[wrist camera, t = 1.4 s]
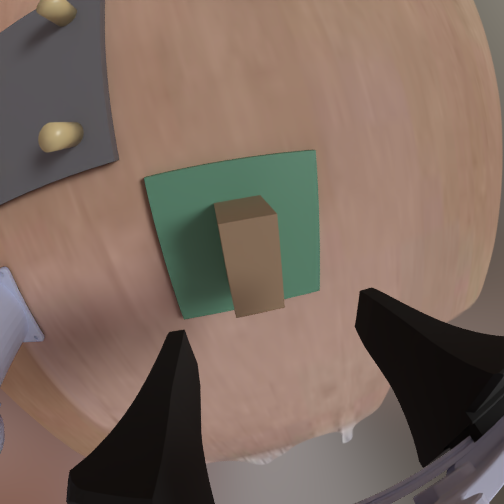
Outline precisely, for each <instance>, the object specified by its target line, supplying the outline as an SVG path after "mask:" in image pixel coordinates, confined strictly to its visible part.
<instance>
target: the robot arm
mask: <svg viewBox="0 0 504 504" xmlns="http://www.w3.org/2000/svg"><path fill="white" fill-rule="evenodd" d="M355 328H356V330H357V333H358V335H359V337H360V339H361V341H362V343H363V345H364V346H365V348H366V349H367V351H368V352H369V354H370V355H371V357H372V358H373V360H374V361H375V363H376V364H377V366H378V367H379V369H380V370H381V372H382V373H383V375H384V376H385V378H386V379H387V381H388V382H389V384H390V385H391V387H392V389H393V391H394V393H395V395H396V397H397V399H398V401H399V403H400V405H401V408H402V410H403V412H404V415H405V417H406V419H407V422H408V425H409V428H410V430H411V433H412V436H413V439H414V443H415V446H416V450H417V454H418V458H419V462H420V463H421V465H422V467H423V468H424V467H425V468H424V469H422V470H420V471H419V472H417V473H415V474H414V475H412V476H410V477H409V478H407V479H405V480H403V481H401V482H399V483H398V484H396V485H394V486H392V487H390V488H388V489H386V490H384V491H382V492H380V493H378V494H375V495H373V496H371V497H369V498H367V499H364V500H362V501H360V502H357V503H355V504H391V503H393V502H395V501H397V500H399V499H401V498H402V497H404V496H406V495H408V494H410V493H411V492H413V491H415V490H416V489H418V488H420V487H421V486H423V485H424V484H426V483H428V482H429V481H431V480H432V479H434V478H435V477H436V476H438V475H440V474H441V473H442V472H444V471H445V470H447V469H448V470H447V474H446V476H445V477H444V478H442V479H441V480H439V481H438V482H436V483H434V484H433V485H431V486H430V487H428V488H427V489H425V490H424V491H422V492H420V493H419V494H417V495H416V496H414V498H413V499H414V502H415V504H489V502H490V501H491V499H492V498H493V497H494V496H495V495H496V493H497V492H498V491H499V490H500V488H501V487H502V486H503V485H504V336H495V335H488V334H483V333H478V332H474V331H470V330H466V329H462V328H459V327H456V326H453V325H450V324H448V323H445V322H442V321H440V320H437V319H435V318H433V317H430V316H428V315H426V314H424V313H422V312H420V311H418V310H416V309H414V308H412V307H410V306H408V305H406V304H404V303H402V302H400V301H398V300H396V299H394V298H392V297H390V296H389V295H387V294H385V293H383V292H381V291H379V290H377V289H374V288H368V289H365V290H361V291H360V294H359V302H358V309H357V316H356V323H355ZM43 340H44V335H43V333H42V331H41V330H40V328H39V326H38V325H37V323H36V321H35V320H34V318H33V316H32V314H31V313H30V311H29V309H28V307H27V305H26V303H25V301H24V299H23V297H22V295H21V294H20V291H19V289H18V287H17V285H16V283H15V281H14V279H13V277H12V274H11V272H10V270H9V269H8V268H7V267H1V268H0V386H1V384H2V382H3V380H4V378H5V375H6V373H7V371H8V369H9V367H10V365H11V363H12V361H13V359H14V357H15V355H16V353H17V351H18V350H19V348H20V346H21V344H22V342H38V341H43ZM0 406H1V403H0ZM3 444H4V424H3V419H2V417H1V415H0V453H1V451H2V448H3ZM449 450H450V451H449ZM448 451H449V452H448ZM445 453H446V454H445ZM444 454H445V455H444ZM442 455H443V456H442ZM441 456H442V457H441ZM439 457H440V458H439ZM438 458H439V459H438ZM436 459H437V460H436ZM435 460H436V461H435ZM433 461H434V462H433ZM432 462H433V463H432ZM430 463H431V464H430ZM429 464H430V465H429ZM427 465H428V466H427ZM426 466H427V467H426ZM66 502H67V504H215V503H214V499H213V495H212V491H211V487H210V482H209V478H208V473H207V468H206V463H205V457H204V451H203V445H202V435H201V398H200V380H199V372H198V364H197V361H196V359H195V356H194V354H193V351H192V349H191V346H190V343H189V341H188V338H187V335H186V332H185V330H179V331H172V332H169V333H168V335H167V337H166V339H165V342H164V344H163V346H162V348H161V351H160V353H159V355H158V357H157V359H156V361H155V363H154V365H153V367H152V369H151V371H150V373H149V375H148V377H147V379H146V381H145V382H144V384H143V386H142V388H141V390H140V391H139V393H138V395H137V396H136V398H135V400H134V401H133V403H132V404H131V406H130V407H129V409H128V410H127V412H126V413H125V415H124V416H123V417H122V418H121V420H120V421H119V422H118V424H117V425H116V426H115V428H114V429H113V430H112V431H111V432H110V434H109V435H108V436H107V437H106V438H105V439H104V440H103V441H102V442H101V443H100V444H99V445H98V446H97V447H96V449H95V450H94V451H92V452H91V453H90V454H89V455H88V456H87V457H86V458H85V459H84V460H82V461H81V462H80V463H79V464H78V465H76V466H75V467H74V468H73V469H71V470H70V472H69V478H68V487H67V500H66Z"/></svg>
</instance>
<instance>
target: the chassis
mask: <svg viewBox="0 0 504 504" xmlns="http://www.w3.org/2000/svg"><path fill="white" fill-rule="evenodd" d="M117 160H119V156H118V151H117V145H116V139H115V133H114V127H113V121H112V114H111V106H110V98H109V90H108V80H107V68H106V53H105V0H41V1H40V2H39V4H38V6H37V9H36V10H34V11H32V12H31V13H29V14H27V15H26V16H24V17H23V18H21V19H20V20H18V21H17V22H15V23H14V24H12V25H11V26H9V27H8V28H6V29H5V30H4V31H2V32H1V33H0V205H1V204H3V203H5V202H7V201H9V200H12V199H14V198H16V197H18V196H20V195H23V194H25V193H27V192H29V191H32V190H34V189H37V188H39V187H41V186H44V185H46V184H49V183H52V182H54V181H57V180H59V179H62V178H65V177H68V176H70V175H73V174H76V173H79V172H82V171H85V170H88V169H91V168H94V167H97V166H101V165H104V164H107V163H111V162H114V161H117Z"/></svg>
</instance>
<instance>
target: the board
mask: <svg viewBox="0 0 504 504" xmlns="http://www.w3.org/2000/svg"><path fill="white" fill-rule="evenodd" d="M144 181H145V186H146V190H147V194H148V199H149V203H150V207H151V211H152V215H153V219H154V223H155V227H156V231H157V234H158V238H159V242H160V245H161V249H162V252H163V256H164V259H165V263H166V266H167V269H168V273H169V276H170V279H171V282H172V285H173V289H174V292H175V295H176V298H177V301H178V304H179V307H180V310H181V313H182V316H183V318H184V319H189V318H194V317H200V316H205V315H210V314H216V313H221V312H226V311H231V310H235V314H236V318H239V317H244V316H248V315H253V314H258V313H262V312H267V311H271V310H276V309H280V308H284V307H285V306H284V299H287V298H291V297H295V296H299V295H304V294H308V293H312V292H316V291H319V289H320V236H319V202H318V181H317V164H316V150H304V151H294V152H284V153H275V154H267V155H259V156H252V157H245V158H238V159H232V160H225V161H219V162H214V163H208V164H203V165H197V166H192V167H187V168H182V169H177V170H173V171H168V172H164V173H159V174H155V175H151V176H147V177H145V178H144Z"/></svg>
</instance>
